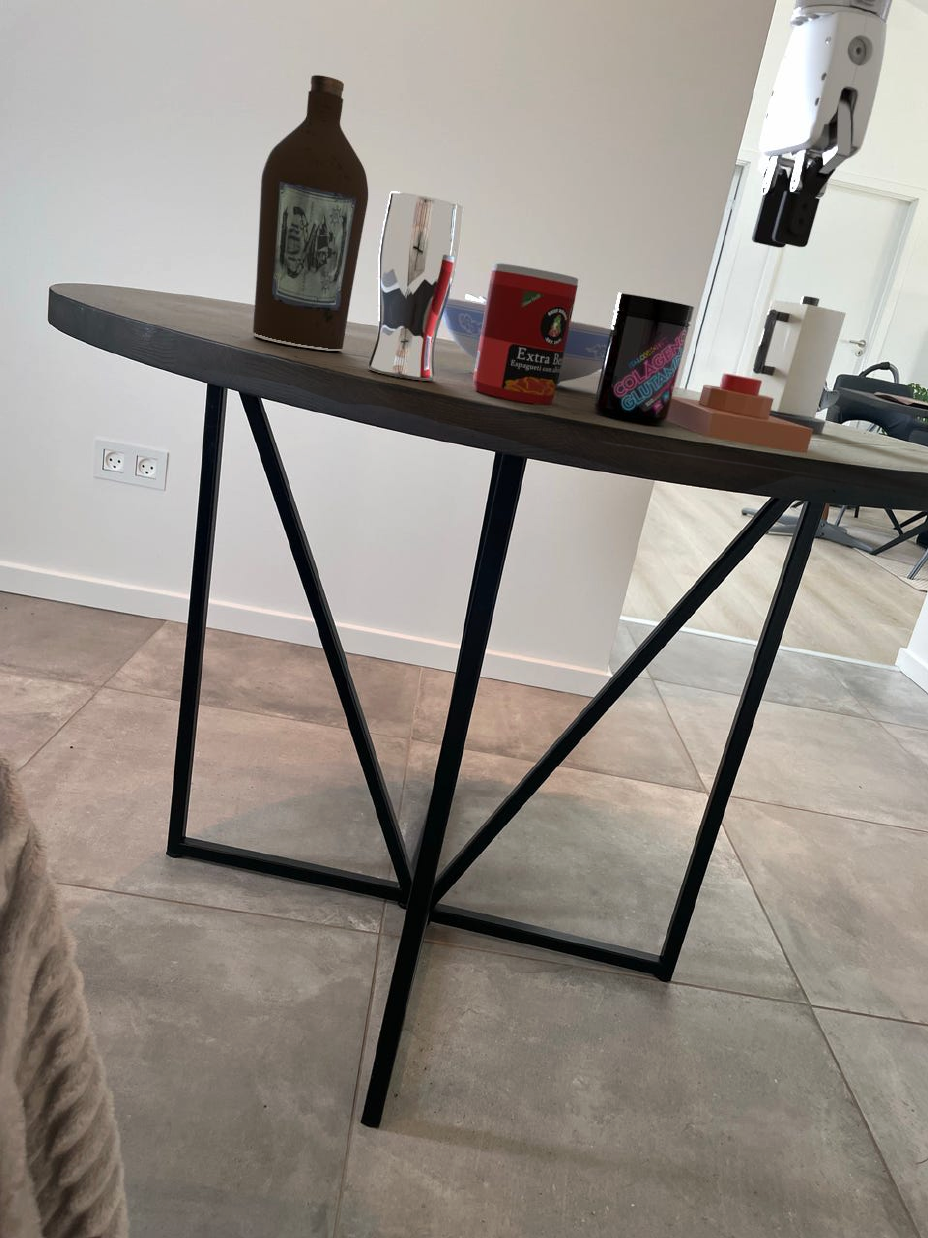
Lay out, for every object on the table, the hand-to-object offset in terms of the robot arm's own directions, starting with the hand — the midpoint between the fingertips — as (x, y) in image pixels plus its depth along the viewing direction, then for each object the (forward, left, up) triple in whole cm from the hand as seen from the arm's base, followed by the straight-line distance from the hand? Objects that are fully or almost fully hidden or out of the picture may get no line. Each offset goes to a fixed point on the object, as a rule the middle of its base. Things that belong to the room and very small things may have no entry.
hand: (778, 242), depth 83 cm
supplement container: (+11, +2, -17) cm, 21 cm away
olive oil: (+40, -21, -17) cm, 48 cm away
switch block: (0, 0, -17) cm, 17 cm away
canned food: (+21, -2, -17) cm, 27 cm away
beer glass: (+31, -5, -17) cm, 36 cm away
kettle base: (-17, -21, -17) cm, 32 cm away
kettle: (-17, -21, -16) cm, 31 cm away
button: (0, 0, -14) cm, 14 cm away
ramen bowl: (+14, -24, -17) cm, 33 cm away
